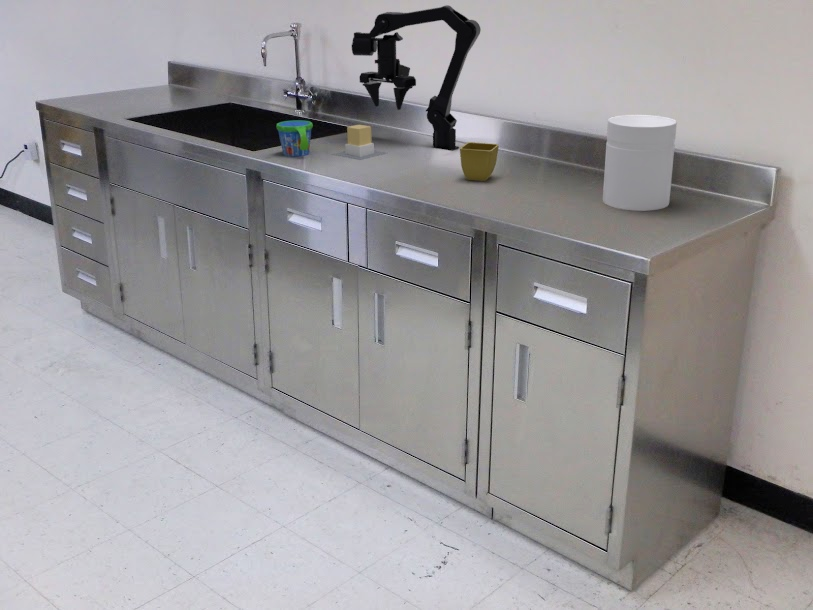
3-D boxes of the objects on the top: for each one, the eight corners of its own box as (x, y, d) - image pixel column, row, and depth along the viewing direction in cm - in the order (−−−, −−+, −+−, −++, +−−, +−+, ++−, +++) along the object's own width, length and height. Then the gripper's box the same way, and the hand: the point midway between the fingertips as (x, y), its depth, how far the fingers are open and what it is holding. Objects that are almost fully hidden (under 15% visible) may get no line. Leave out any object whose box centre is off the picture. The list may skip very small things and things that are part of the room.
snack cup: (273, 153, 289) (271, 120, 285) (306, 150, 292) (305, 117, 289) (285, 164, 275) (282, 129, 272) (320, 160, 279) (318, 126, 275)
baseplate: (388, 156, 283) (388, 152, 283) (360, 163, 275) (360, 159, 275) (359, 150, 291) (359, 147, 290) (331, 157, 282) (331, 154, 282)
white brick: (374, 153, 283) (373, 143, 282) (360, 156, 279) (359, 146, 277) (359, 150, 286) (359, 140, 285) (345, 153, 282) (345, 143, 281)
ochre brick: (371, 143, 282) (371, 126, 280) (359, 146, 278) (359, 129, 276) (359, 141, 285) (358, 124, 283) (347, 143, 281) (347, 127, 279)
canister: (628, 214, 223) (634, 129, 216) (589, 197, 237) (594, 117, 230) (682, 205, 229) (691, 123, 222) (642, 190, 243) (649, 112, 235)
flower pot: (498, 176, 259) (499, 143, 255) (490, 184, 251) (491, 150, 248) (467, 174, 261) (468, 141, 258) (458, 181, 254) (459, 148, 250)
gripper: (427, 55, 285) (427, 107, 291) (382, 51, 297) (383, 101, 303) (403, 59, 278) (403, 112, 283) (357, 54, 289) (359, 106, 295)
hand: (387, 108), depth 291 cm, fingers open, 9 cm apart
